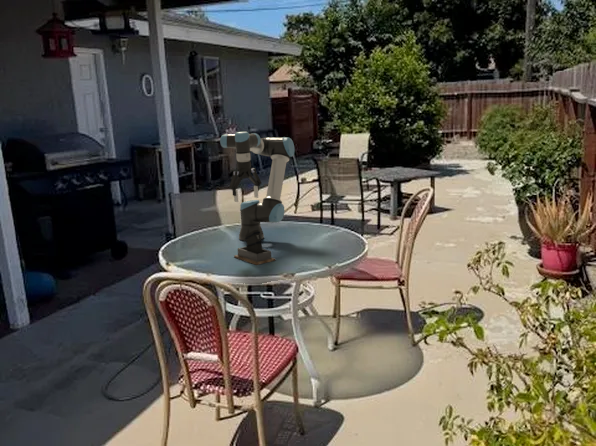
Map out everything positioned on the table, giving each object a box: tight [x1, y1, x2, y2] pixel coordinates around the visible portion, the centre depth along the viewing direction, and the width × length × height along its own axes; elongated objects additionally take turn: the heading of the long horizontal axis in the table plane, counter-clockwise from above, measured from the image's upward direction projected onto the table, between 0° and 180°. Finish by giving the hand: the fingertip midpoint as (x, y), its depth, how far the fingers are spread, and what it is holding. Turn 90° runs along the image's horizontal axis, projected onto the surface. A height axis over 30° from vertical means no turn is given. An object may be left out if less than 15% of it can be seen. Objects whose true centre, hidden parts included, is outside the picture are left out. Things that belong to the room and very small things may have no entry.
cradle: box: [237, 246, 272, 262], centre depth 294 cm, size 9×18×4 cm, turn 39°
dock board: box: [233, 254, 277, 266], centre depth 294 cm, size 12×21×1 cm, turn 39°
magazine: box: [245, 230, 263, 254], centre depth 293 cm, size 4×13×15 cm, turn 35°
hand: (246, 199), depth 305 cm, fingers open, 13 cm apart
